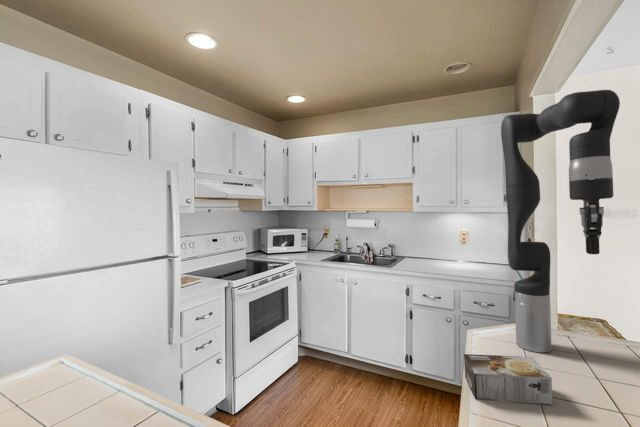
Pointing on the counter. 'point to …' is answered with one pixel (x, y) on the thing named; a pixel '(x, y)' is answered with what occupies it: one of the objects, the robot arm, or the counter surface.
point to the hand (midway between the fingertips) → (592, 253)
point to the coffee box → (507, 378)
